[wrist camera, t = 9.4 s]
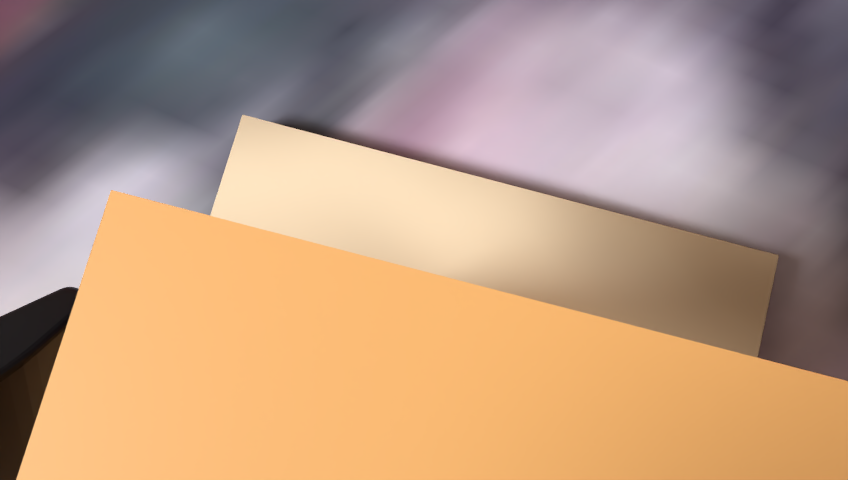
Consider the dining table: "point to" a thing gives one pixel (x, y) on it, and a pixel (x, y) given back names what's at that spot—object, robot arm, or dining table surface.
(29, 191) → the dining table surface
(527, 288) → the wooden board
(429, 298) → the block
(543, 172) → the dining table surface
